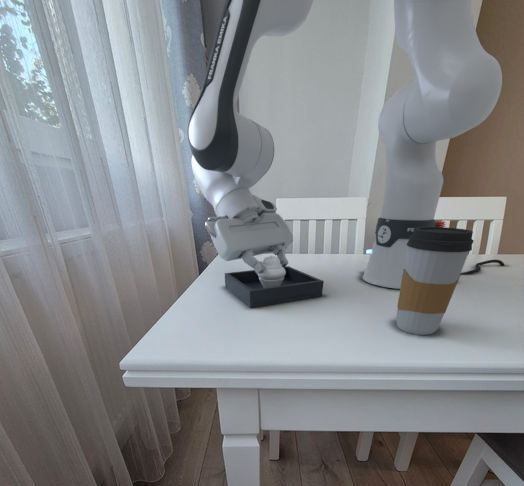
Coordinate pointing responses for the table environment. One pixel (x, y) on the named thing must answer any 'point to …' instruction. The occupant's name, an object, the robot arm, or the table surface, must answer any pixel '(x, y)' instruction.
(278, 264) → the muffin
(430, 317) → the coffee cup
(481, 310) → the table surface
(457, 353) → the table surface
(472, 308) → the table surface
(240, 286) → the tray
